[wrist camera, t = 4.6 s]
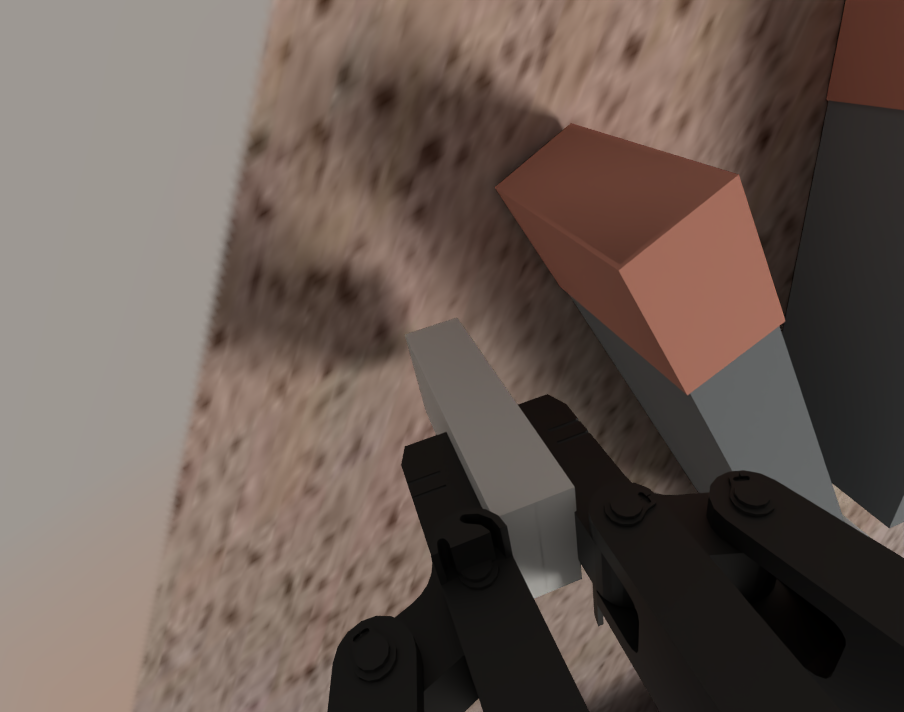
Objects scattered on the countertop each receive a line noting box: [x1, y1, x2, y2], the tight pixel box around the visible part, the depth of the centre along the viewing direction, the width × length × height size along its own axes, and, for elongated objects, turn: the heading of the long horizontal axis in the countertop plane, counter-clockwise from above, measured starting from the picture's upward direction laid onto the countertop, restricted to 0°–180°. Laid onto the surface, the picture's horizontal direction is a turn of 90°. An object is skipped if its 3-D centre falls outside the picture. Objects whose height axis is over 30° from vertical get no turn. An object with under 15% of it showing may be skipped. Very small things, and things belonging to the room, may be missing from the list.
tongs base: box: [782, 0, 904, 537], centre depth 19 cm, size 24×5×7 cm, turn 11°
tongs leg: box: [495, 123, 844, 521], centre depth 17 cm, size 18×3×6 cm, turn 36°
